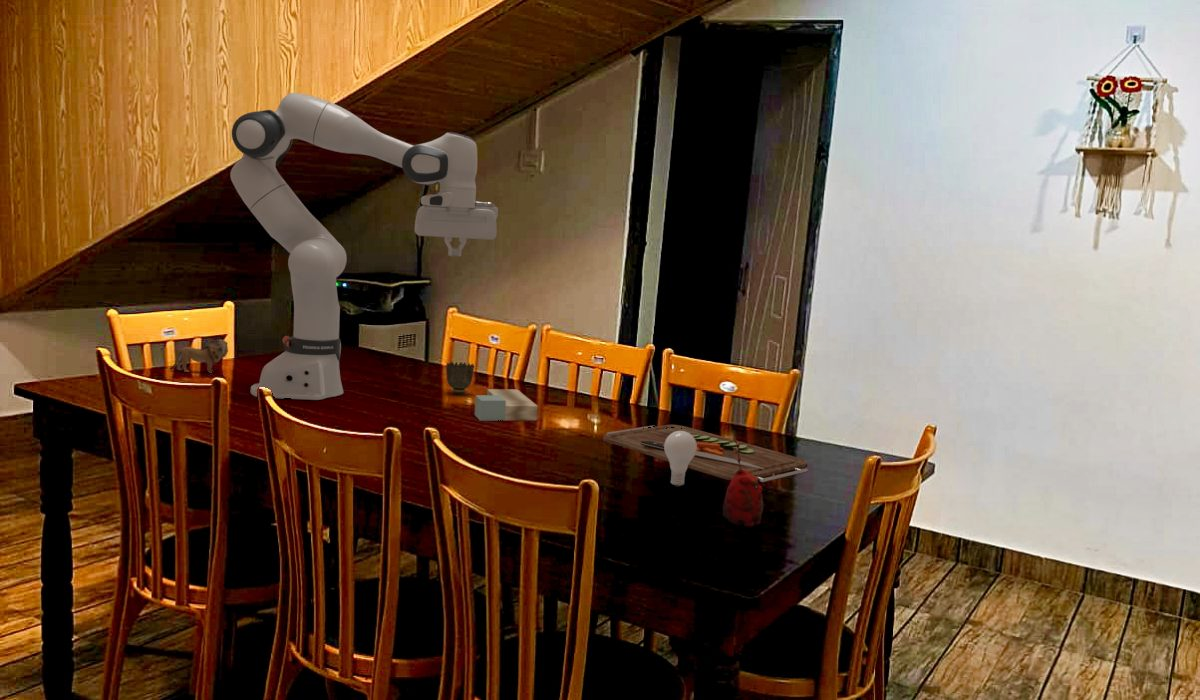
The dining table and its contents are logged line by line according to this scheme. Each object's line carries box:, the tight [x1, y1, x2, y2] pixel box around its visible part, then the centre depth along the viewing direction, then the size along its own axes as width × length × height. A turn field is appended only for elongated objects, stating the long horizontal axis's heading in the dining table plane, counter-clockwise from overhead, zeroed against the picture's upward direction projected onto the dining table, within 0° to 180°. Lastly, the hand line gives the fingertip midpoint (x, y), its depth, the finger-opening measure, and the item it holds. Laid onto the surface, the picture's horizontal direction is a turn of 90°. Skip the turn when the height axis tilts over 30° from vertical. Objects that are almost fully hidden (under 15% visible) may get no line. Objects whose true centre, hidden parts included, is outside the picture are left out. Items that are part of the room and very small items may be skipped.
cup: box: [445, 361, 475, 396], centre depth 274 cm, size 8×7×8 cm
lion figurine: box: [169, 339, 229, 374], centre depth 277 cm, size 15×5×9 cm, turn 106°
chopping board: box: [602, 424, 809, 483], centre depth 231 cm, size 45×27×3 cm, turn 45°
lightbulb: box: [664, 431, 697, 488], centre depth 201 cm, size 6×6×11 cm
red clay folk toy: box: [722, 437, 764, 528], centre depth 182 cm, size 8×7×15 cm
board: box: [486, 388, 539, 421], centre depth 258 cm, size 8×20×4 cm, turn 19°
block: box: [474, 394, 506, 422], centre depth 249 cm, size 6×6×5 cm
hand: (454, 256), depth 258 cm, fingers closed
